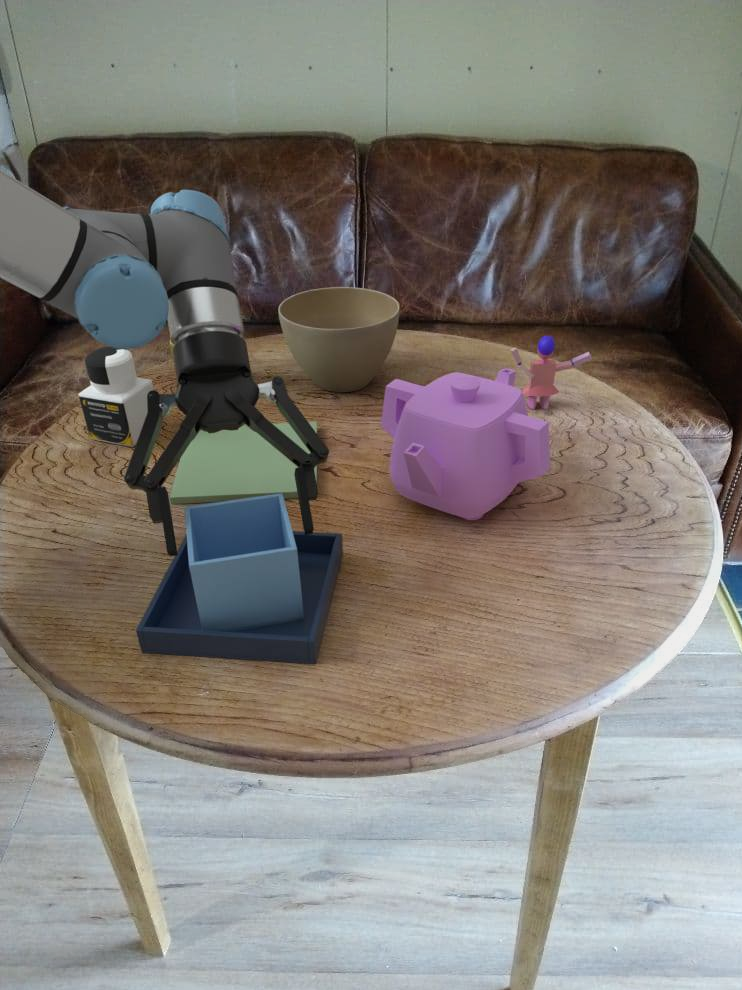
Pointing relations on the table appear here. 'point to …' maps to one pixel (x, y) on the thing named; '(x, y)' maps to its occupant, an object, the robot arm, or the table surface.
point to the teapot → (463, 441)
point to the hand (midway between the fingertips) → (242, 543)
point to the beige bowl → (340, 334)
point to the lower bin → (180, 632)
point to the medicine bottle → (114, 397)
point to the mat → (235, 467)
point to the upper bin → (243, 563)
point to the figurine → (544, 372)
